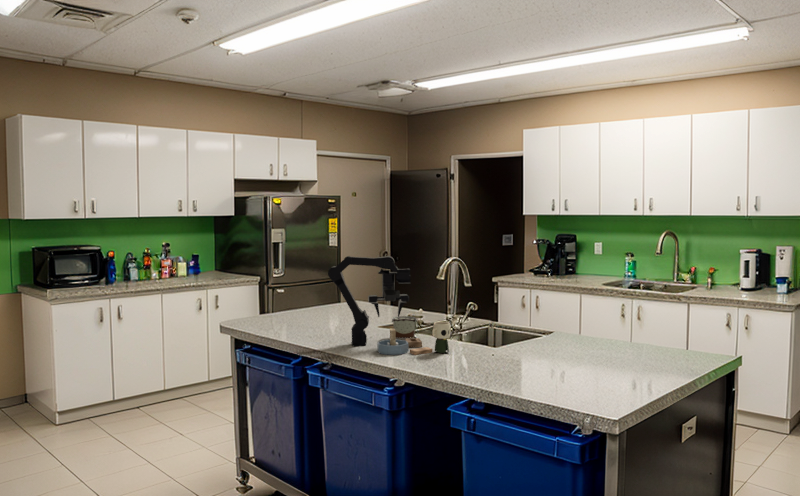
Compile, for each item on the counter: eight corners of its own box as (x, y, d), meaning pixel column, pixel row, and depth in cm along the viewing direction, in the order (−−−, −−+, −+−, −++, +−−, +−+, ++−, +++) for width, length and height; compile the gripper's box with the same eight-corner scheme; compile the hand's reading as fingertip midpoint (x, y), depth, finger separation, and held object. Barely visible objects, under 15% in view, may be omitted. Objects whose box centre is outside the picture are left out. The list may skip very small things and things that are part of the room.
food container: (417, 336, 303) (417, 316, 303) (417, 338, 297) (416, 318, 297) (393, 335, 304) (393, 315, 304) (391, 338, 298) (391, 317, 298)
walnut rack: (407, 347, 277) (407, 342, 277) (405, 343, 285) (405, 338, 284) (421, 347, 278) (421, 341, 277) (419, 343, 285) (419, 338, 285)
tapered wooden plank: (415, 356, 262) (415, 351, 262) (409, 354, 266) (409, 349, 266) (432, 353, 267) (432, 348, 267) (426, 351, 271) (426, 347, 271)
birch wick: (391, 350, 266) (391, 330, 266) (389, 348, 271) (389, 328, 270) (395, 350, 266) (395, 330, 266) (394, 348, 271) (394, 328, 270)
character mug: (438, 355, 260) (438, 325, 260) (427, 353, 266) (427, 323, 265) (456, 351, 268) (456, 322, 267) (444, 349, 273) (444, 320, 272)
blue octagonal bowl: (379, 355, 261) (379, 346, 261) (376, 348, 274) (376, 340, 274) (409, 354, 263) (409, 345, 263) (405, 347, 276) (405, 339, 276)
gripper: (369, 285, 273) (370, 320, 274) (411, 284, 275) (411, 319, 276) (367, 283, 284) (368, 316, 285) (407, 282, 286) (407, 315, 287)
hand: (388, 316), depth 283 cm, fingers open, 9 cm apart
